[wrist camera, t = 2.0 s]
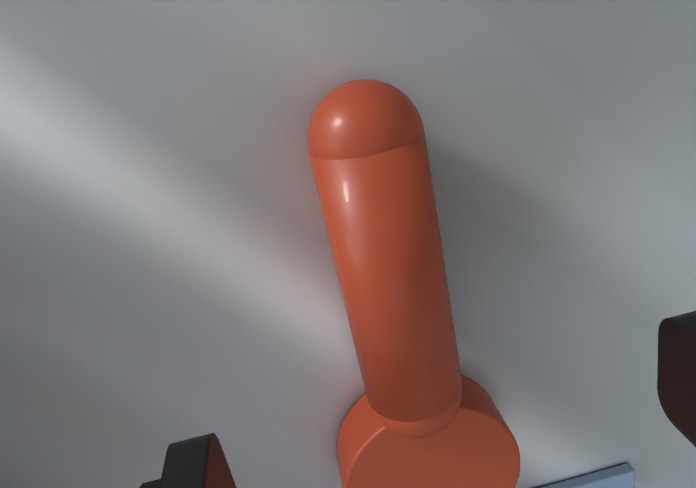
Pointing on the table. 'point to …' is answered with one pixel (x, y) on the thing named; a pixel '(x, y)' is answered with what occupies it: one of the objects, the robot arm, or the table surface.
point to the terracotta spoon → (399, 304)
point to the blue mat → (602, 479)
